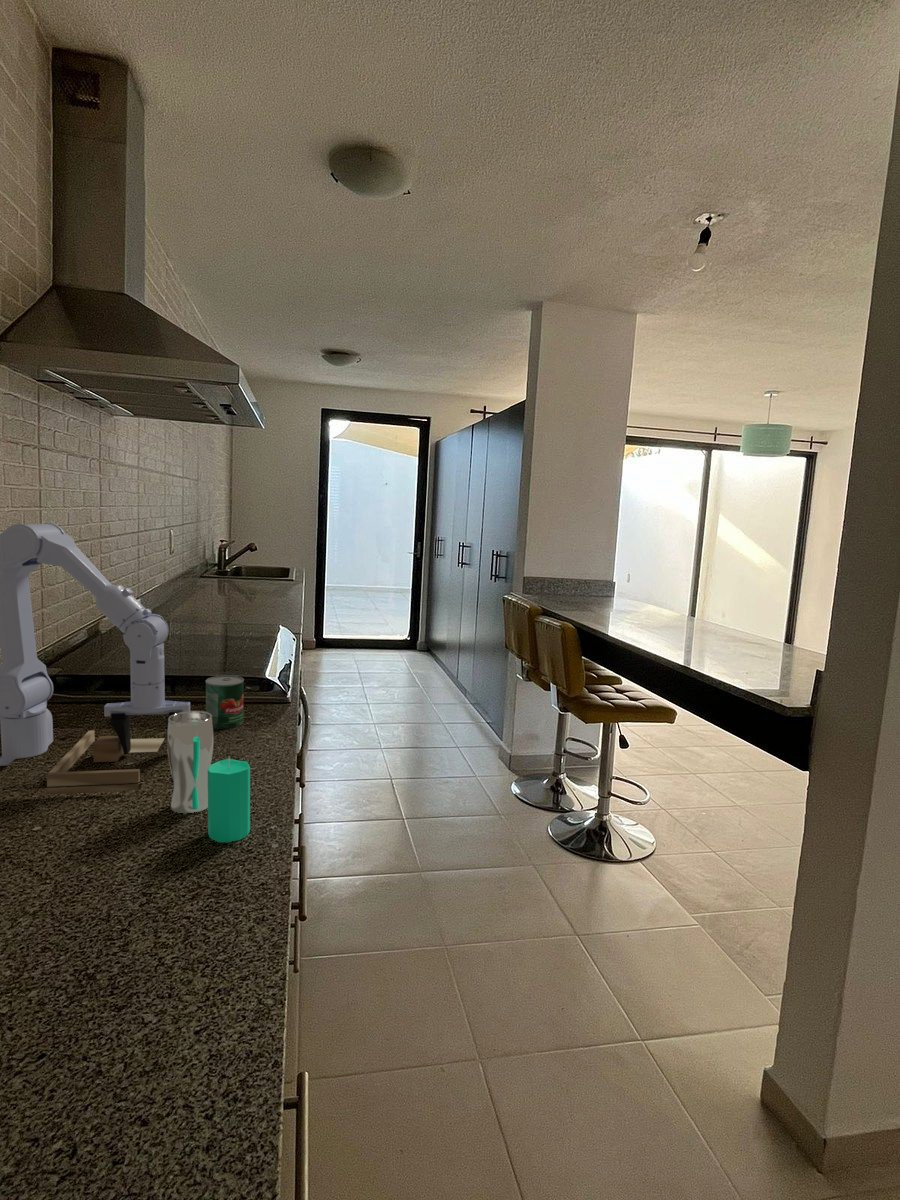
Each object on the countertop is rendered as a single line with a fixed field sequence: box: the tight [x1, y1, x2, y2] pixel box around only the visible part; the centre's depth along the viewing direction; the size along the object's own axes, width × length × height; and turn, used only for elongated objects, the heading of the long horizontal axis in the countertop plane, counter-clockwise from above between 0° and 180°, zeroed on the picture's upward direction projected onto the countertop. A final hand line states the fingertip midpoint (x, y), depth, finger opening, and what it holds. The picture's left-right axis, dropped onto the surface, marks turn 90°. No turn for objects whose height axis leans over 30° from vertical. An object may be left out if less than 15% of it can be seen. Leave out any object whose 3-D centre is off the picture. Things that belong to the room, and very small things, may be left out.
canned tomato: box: [205, 675, 245, 730], centre depth 144 cm, size 8×8×11 cm
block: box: [92, 735, 124, 763], centre depth 122 cm, size 4×4×4 cm
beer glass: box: [166, 710, 214, 815], centre depth 106 cm, size 7×7×15 cm
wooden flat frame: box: [46, 729, 166, 795], centre depth 121 cm, size 22×14×3 cm, turn 12°
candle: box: [207, 756, 251, 843], centre depth 98 cm, size 6×6×12 cm
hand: (148, 751), depth 124 cm, fingers open, 7 cm apart
